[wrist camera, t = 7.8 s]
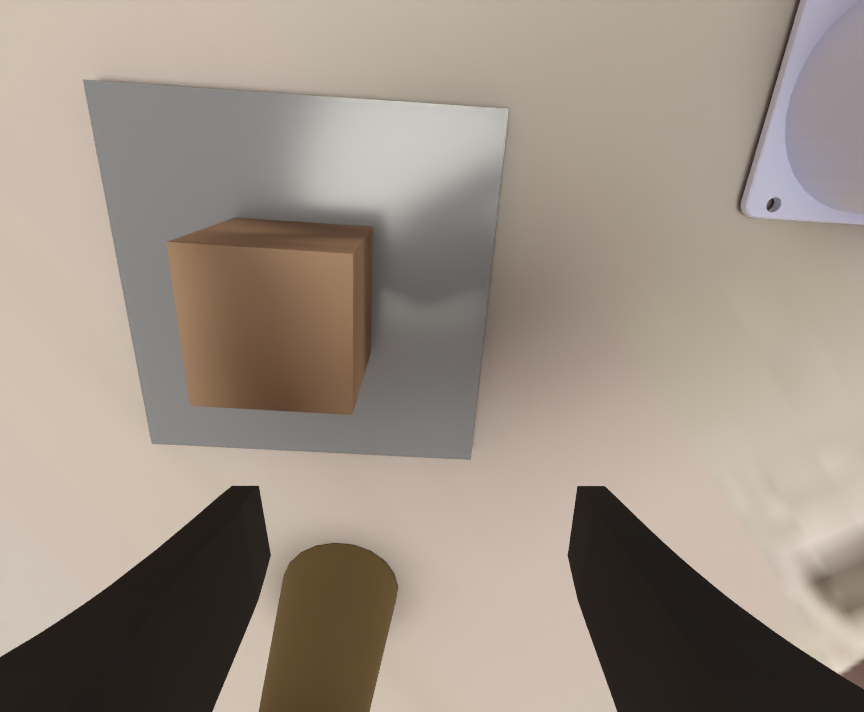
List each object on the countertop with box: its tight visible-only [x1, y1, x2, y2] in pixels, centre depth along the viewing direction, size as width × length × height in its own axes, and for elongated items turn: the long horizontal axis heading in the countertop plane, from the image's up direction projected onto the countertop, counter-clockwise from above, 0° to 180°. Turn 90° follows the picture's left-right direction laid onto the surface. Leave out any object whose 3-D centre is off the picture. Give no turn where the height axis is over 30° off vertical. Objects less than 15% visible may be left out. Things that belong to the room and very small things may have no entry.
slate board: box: [83, 80, 509, 460], centre depth 19 cm, size 14×14×1 cm
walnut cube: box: [166, 218, 373, 415], centre depth 17 cm, size 5×5×5 cm
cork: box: [259, 543, 398, 712], centre depth 21 cm, size 6×6×11 cm
